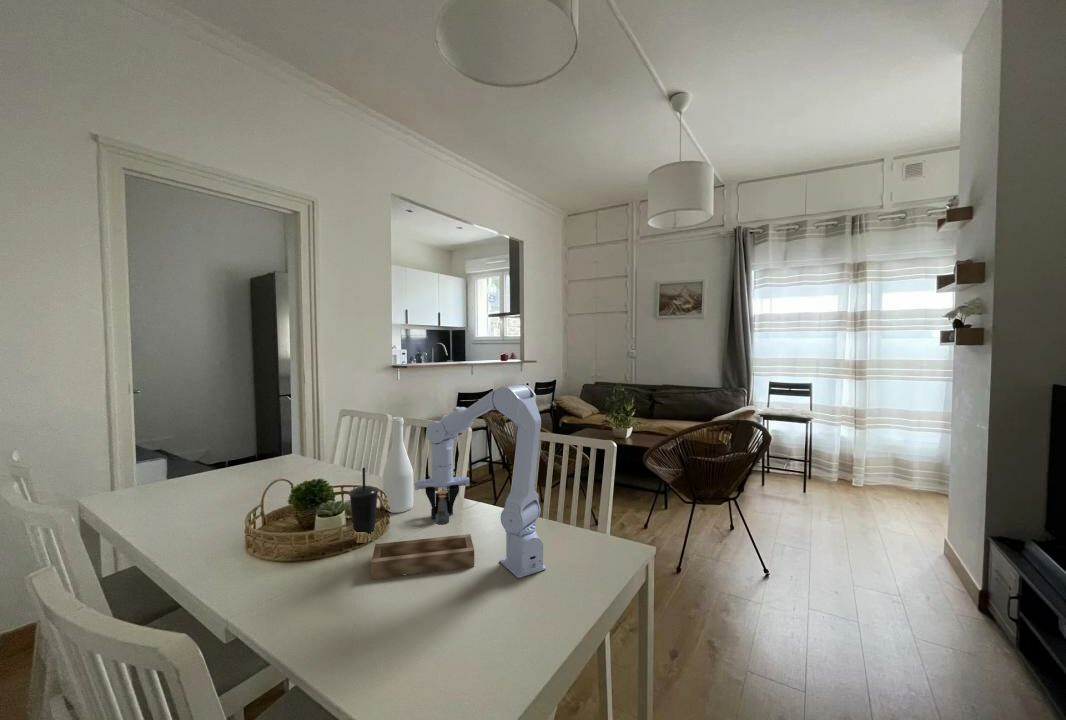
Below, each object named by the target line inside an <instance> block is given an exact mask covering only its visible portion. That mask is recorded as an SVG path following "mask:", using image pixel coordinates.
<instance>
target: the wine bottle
mask: <svg viewBox="0 0 1066 720" xmlns="http://www.w3.org/2000/svg"><path fill="white" fill-rule="evenodd" d="M404 424H405V421H404V418H403V417H402V416H395V417H392V420H391V425H392V440H391V441H392V442H391V447H390V451H389V453H388V456H387V460H386V462H385V465H384V469H383V472H382V493H383V492H384V493H385V495H386V496H387V500H388V503H389V507H390V512H391V513H390V514H399V513H405V512H407V511H409V510H411V509H412V508H413V506H414V469H413V467H412V466H413V465H412V463H411V461H410V458H409V456H408V452H407V449H406V446H405V442H404Z"/></svg>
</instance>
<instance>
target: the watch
mask: <svg viewBox="0 0 1066 720" xmlns="http://www.w3.org/2000/svg"><path fill="white" fill-rule="evenodd" d="M441 491H447V492H449V487H441ZM436 493H437V492H436V491H435V507H436ZM430 511H431V512H430V515H431V516H430V517H431V520H435V521H436V515H434V516H433V510H432V508H431V509H430ZM453 515H454V507H453V508H452V514H449V518H450V517H451V516H453Z"/></svg>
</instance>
